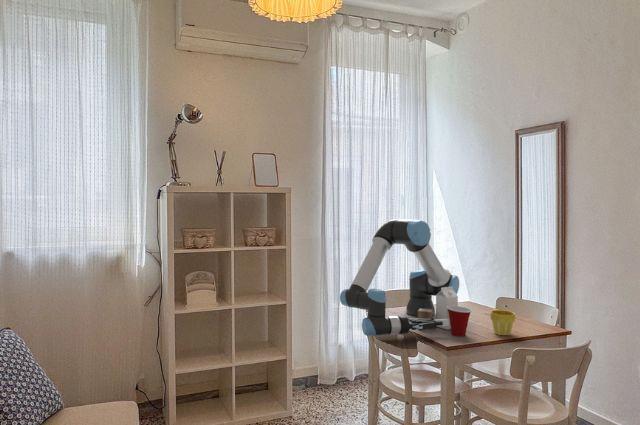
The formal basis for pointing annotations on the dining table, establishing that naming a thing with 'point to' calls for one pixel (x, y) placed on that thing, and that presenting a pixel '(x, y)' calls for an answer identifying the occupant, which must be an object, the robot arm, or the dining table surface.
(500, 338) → the dining table surface
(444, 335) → the dining table surface
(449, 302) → the milk carton
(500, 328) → the plant pot
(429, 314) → the walnut block
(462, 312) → the plastic cup
